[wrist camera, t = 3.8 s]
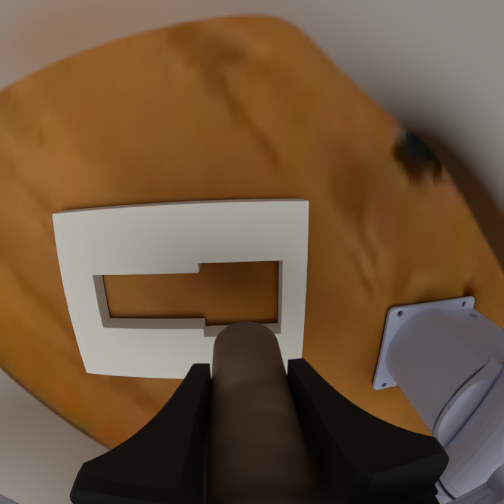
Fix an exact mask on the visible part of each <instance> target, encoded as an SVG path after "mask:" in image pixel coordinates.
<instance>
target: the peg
mask: <svg viewBox="0 0 504 504" xmlns="http://www.w3.org/2000/svg"><path fill="white" fill-rule="evenodd" d="M317 497H318V491H317V487H316V483H315V480H314V476H313V472H312V468H311V464H310V461H309V457H308V453H307V449H306V445H305V442H304V438H303V434H302V430H301V427H300V423H299V419H298V415H297V411H296V408H295V404H294V400H293V396H292V393H291V389H290V385H289V381H288V378H287V374H286V370H285V366H284V363H283V359H282V355H281V351H280V348H279V344H278V340H277V338H276V336H275V334H274V333H273V332H272V331H271V330H270V329H269V328H268V327H266V326H264V325H262V324H260V323H256V322H251V321H244V322H237V323H234V324H231V325H229V326H227V327H226V328H224V329H223V330H222V331H221V332H220V333H219V334H218V336H217V337H216V339H215V342H214V346H213V360H212V376H211V397H210V413H209V434H208V459H207V492H206V504H313V503H314V502H315V501H316V499H317Z"/></svg>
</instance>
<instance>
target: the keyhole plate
mask: <svg viewBox="0 0 504 504" xmlns="http://www.w3.org/2000/svg"><path fill="white" fill-rule="evenodd" d="M52 215H53V224H54V232H55V240H56V247H57V253H58V259H59V265H60V271H61V276H62V281H63V286H64V291H65V296H66V300H67V304H68V309H69V313H70V317H71V321H72V325H73V328H74V332H75V336H76V339H77V343H78V346H79V349H80V353H81V356H82V359H83V362H84V365H85V368H86V371H87V373H94V374H104V375H116V376H130V377H148V378H182V379H184V378H185V376H186V375H187V373H188V371H189V370H190V368H191V366H192V365H193V364H194V363H210V371H211V376H212V360H213V346H214V342H215V339H216V337H217V336H218V334H219V333H220V332H221V331H222V330H223V329H224V328H226V327H227V326H229V325H222V326H206V325H205V318H190V319H136V318H110V316H109V311H108V306H107V301H106V295H105V290H104V284H103V278H102V275H125V274H173V273H199V270H200V266H201V263H219V262H249V261H277V260H279V290H278V323H269V324H262V325H264V326H266V327H268V328H269V329H270V330H271V331H272V332H273V333H274V334H275V336H276V338H277V340H278V344H279V348H280V351H281V355H282V359H283V363H284V366H285V370H286V374H287V366H288V359H299V358H302V347H303V333H304V318H305V300H306V280H307V254H308V215H309V201H307V200H305V199H236V200H207V201H184V202H165V203H148V204H134V205H120V206H107V207H95V208H84V209H74V210H64V211H60V212H57V213H54V214H52Z"/></svg>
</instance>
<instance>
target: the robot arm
mask: <svg viewBox="0 0 504 504" xmlns="http://www.w3.org/2000/svg"><path fill="white" fill-rule="evenodd" d="M473 306H474V298H473V297H472V296H467V297H461V298H455V299H448V300H441V301H435V302H428V303H420V304H413V305H405V306H397V307H392V308H390V309H389V311H388V313H387V319H386V325H385V330H384V335H383V340H382V345H381V350H380V355H379V359H378V364H377V368H376V372H375V377H374V381H373V388H374V389H375V390H379V389H384V388H389V387H393V386H398V387H399V388H400V389H401V391H402V392H403V394H404V395H405V396H406V398H407V399H408V401H409V402H410V404H411V405H412V406H413V408H414V409H415V411H416V412H417V414H418V415H419V417H420V418H421V419H422V421H423V422H424V424H425V425H426V427H427V428H428V430H429V431H430V433H431V434H432V436H433V437H431V436H427V435H423V434H419V433H415V432H411V431H408V430H405V429H403V428H400V427H397V426H395V425H392V424H390V423H387V422H385V421H383V420H381V419H379V418H377V417H375V416H373V415H371V414H369V413H368V412H366V411H364V410H363V409H361V408H359V407H358V406H356V405H355V404H353V403H352V402H350V401H349V400H348V399H346V398H345V397H344V396H343V395H341V394H340V393H339V392H338V391H336V390H335V389H334V388H333V387H332V386H331V385H330V384H329V383H328V382H326V381H325V380H324V379H323V378H322V377H321V376H320V375H319V374H318V373H317V372H316V371H315V370H314V369H313V368H312V367H311V365H310V364H309V363H308V362H307V361H306V360H305V359H304V358H299V359H288V366H287V378H288V381H289V385H290V389H291V393H292V396H293V400H294V404H295V408H296V411H297V415H298V419H299V423H300V427H301V430H302V434H303V438H304V442H305V445H306V449H307V453H308V457H309V461H310V464H311V468H312V472H313V476H314V480H315V483H316V487H317V491H318V497H317V499H316V501H315V502H314V503H313V504H440V503H439V502H438V500H439V501H440V502H441V503H442V504H504V329H502V328H501V327H499V326H498V325H497V324H495V323H494V322H492V321H491V320H489V319H488V318H487V317H485V316H484V315H482V314H481V313H479V312H478V311H477V310H475V309H474V308H473ZM399 311H401V312H400V314H398V312H399ZM397 314H398V315H397ZM383 383H384V384H383ZM210 397H211V371H210V363H194V364H193V365H192V366H191V368H190V370H189V371H188V373H187V375H186V376H185V378H184V380H183V381H182V383H181V384H180V386H179V387H178V388H177V390H176V391H175V393H174V394H173V395H172V397H171V398H170V399H169V400H168V402H167V403H166V404H165V405H164V406H163V408H162V409H161V410H160V411H159V412H158V413H157V414H156V415H155V416H154V417H153V418H152V419H151V420H150V421H149V422H148V423H147V424H146V425H145V426H144V427H143V428H142V429H140V430H139V431H138V432H137V433H136V434H134V435H133V436H132V437H130V438H129V439H128V440H126V441H125V442H123V443H122V444H120V445H118V446H117V447H115V448H114V449H112V450H110V451H108V452H107V453H105V454H103V455H101V456H99V457H96V458H94V459H92V460H90V461H88V462H85V463H83V465H82V467H81V469H80V470H79V472H78V474H77V477H76V479H75V482H74V484H73V487H72V490H71V493H70V500H71V501H72V503H73V504H206V492H207V459H208V434H209V413H210ZM437 499H438V500H437ZM0 504H18V503H17V502H15V501H13V500H11V499H9V498H7V497H4V496H2V495H1V494H0Z"/></svg>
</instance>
